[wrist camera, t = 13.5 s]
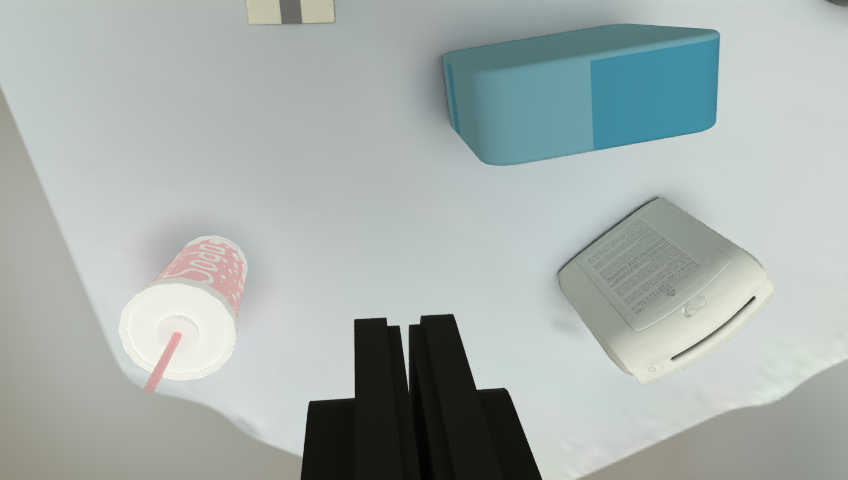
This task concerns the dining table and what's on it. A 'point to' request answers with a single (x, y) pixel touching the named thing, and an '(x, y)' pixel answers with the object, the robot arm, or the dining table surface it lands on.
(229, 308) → the beverage cup
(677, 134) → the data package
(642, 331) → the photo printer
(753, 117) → the dining table surface
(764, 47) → the dining table surface
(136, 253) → the dining table surface
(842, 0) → the supplement bottle
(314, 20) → the label tile
